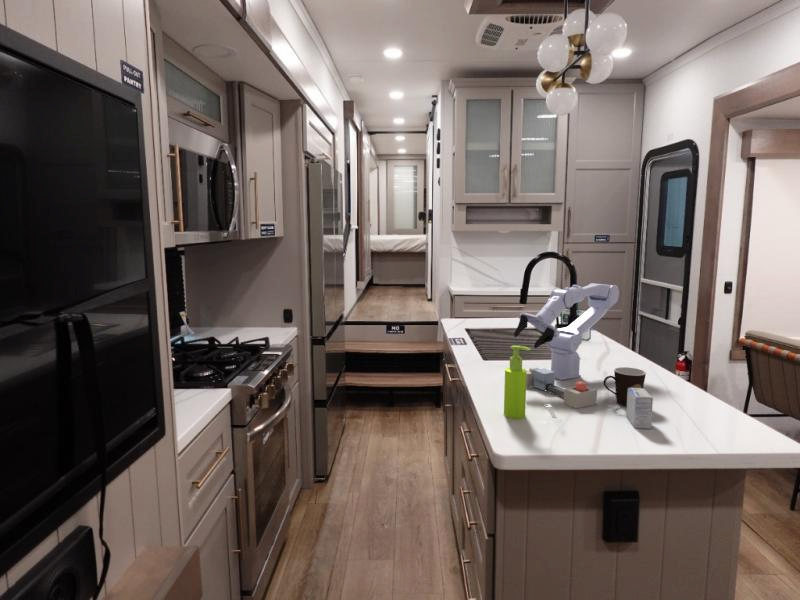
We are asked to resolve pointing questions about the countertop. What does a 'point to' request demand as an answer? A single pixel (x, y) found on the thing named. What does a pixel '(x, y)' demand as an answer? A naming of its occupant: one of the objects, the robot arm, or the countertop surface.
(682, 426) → the countertop surface
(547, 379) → the carriage
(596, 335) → the countertop surface
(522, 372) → the soap dispenser
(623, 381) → the coffee mug
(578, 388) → the red rounded piece
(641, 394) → the medicine box
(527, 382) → the cabinet
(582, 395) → the cabinet
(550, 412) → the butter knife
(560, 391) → the rail
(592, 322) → the robot arm
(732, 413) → the countertop surface
